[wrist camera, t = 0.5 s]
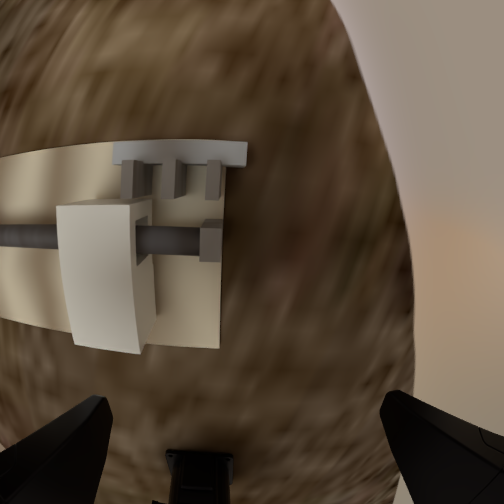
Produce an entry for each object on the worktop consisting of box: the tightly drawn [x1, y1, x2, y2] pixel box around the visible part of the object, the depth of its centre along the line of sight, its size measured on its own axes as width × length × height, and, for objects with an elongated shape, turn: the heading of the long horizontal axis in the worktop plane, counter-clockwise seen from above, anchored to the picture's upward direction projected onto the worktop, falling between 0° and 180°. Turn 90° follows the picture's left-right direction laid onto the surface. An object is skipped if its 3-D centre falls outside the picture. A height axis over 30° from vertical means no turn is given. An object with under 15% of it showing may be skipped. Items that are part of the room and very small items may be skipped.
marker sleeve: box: [56, 199, 157, 354], centre depth 14 cm, size 4×7×4 cm, turn 176°
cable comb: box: [0, 139, 248, 348], centre depth 14 cm, size 25×13×4 cm, turn 86°
